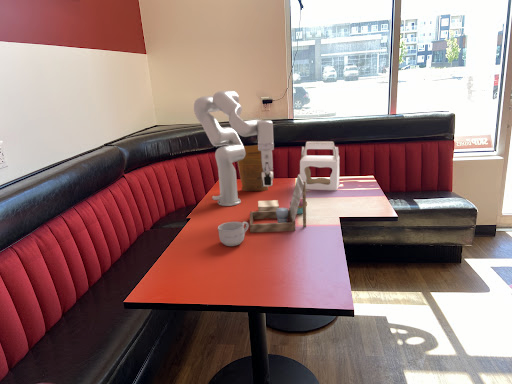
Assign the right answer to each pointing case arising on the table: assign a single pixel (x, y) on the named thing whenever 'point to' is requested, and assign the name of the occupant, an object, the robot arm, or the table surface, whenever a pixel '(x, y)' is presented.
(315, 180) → the white carry box
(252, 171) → the pancake mix bag
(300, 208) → the cupcake
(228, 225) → the teacup
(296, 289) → the table surface
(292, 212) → the cold frame
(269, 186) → the cream pot
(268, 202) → the stand
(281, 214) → the blue pot
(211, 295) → the table surface
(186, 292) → the table surface
